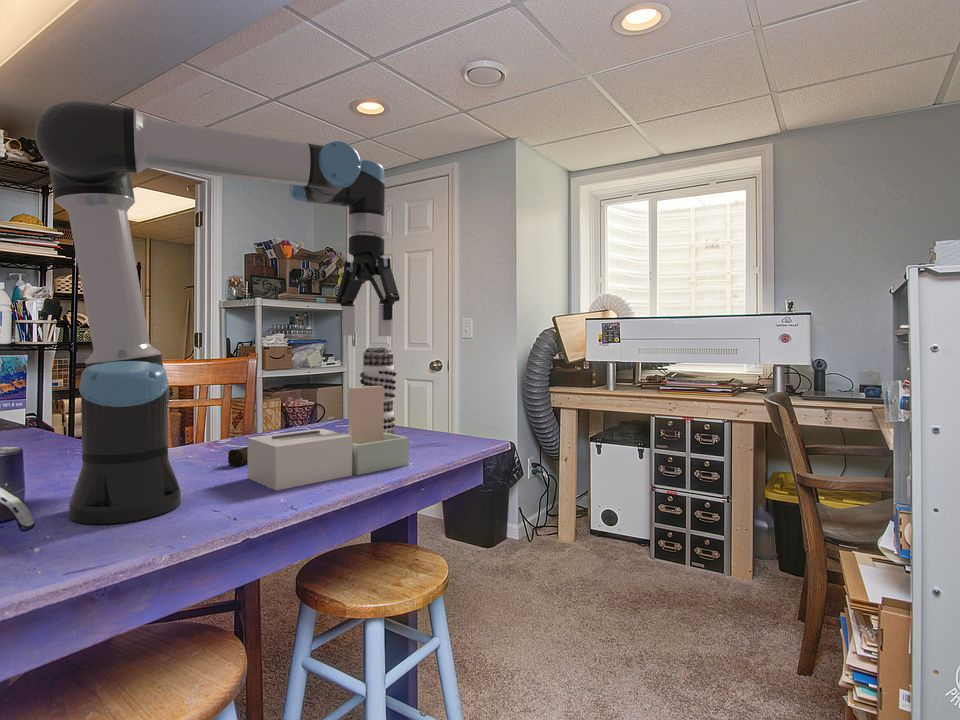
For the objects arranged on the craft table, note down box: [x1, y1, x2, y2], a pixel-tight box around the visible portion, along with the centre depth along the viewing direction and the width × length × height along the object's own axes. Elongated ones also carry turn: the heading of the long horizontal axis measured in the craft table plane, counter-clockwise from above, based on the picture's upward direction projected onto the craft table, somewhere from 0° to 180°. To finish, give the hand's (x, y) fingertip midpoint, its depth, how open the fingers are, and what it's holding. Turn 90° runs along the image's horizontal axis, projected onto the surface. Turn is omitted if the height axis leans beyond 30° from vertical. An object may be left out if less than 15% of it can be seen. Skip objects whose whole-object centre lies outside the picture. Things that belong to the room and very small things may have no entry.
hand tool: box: [227, 446, 248, 468], centre depth 128 cm, size 19×4×5 cm, turn 157°
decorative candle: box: [359, 347, 398, 435], centre depth 144 cm, size 9×9×25 cm
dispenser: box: [247, 428, 353, 491], centre depth 111 cm, size 16×12×8 cm
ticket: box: [348, 386, 384, 444], centre depth 122 cm, size 8×2×16 cm, turn 136°
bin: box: [345, 432, 410, 476], centre depth 123 cm, size 13×13×6 cm
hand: (366, 336), depth 121 cm, fingers open, 13 cm apart
